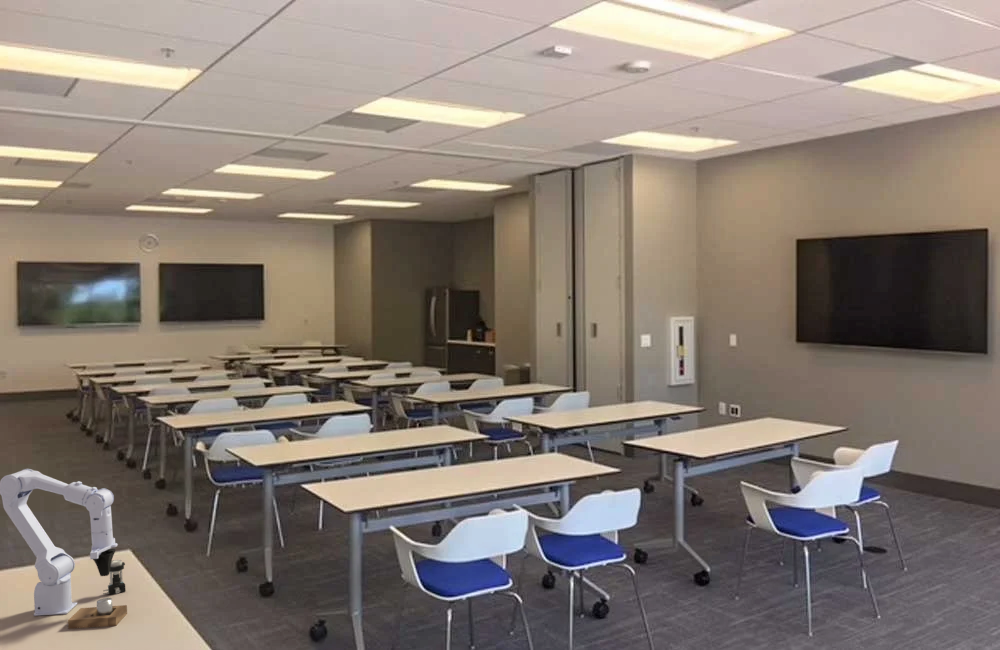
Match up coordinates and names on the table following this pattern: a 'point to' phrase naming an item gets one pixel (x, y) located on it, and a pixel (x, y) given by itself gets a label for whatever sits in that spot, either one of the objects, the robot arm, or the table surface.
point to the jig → (96, 617)
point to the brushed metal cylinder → (104, 607)
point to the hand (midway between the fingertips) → (104, 575)
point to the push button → (116, 578)
